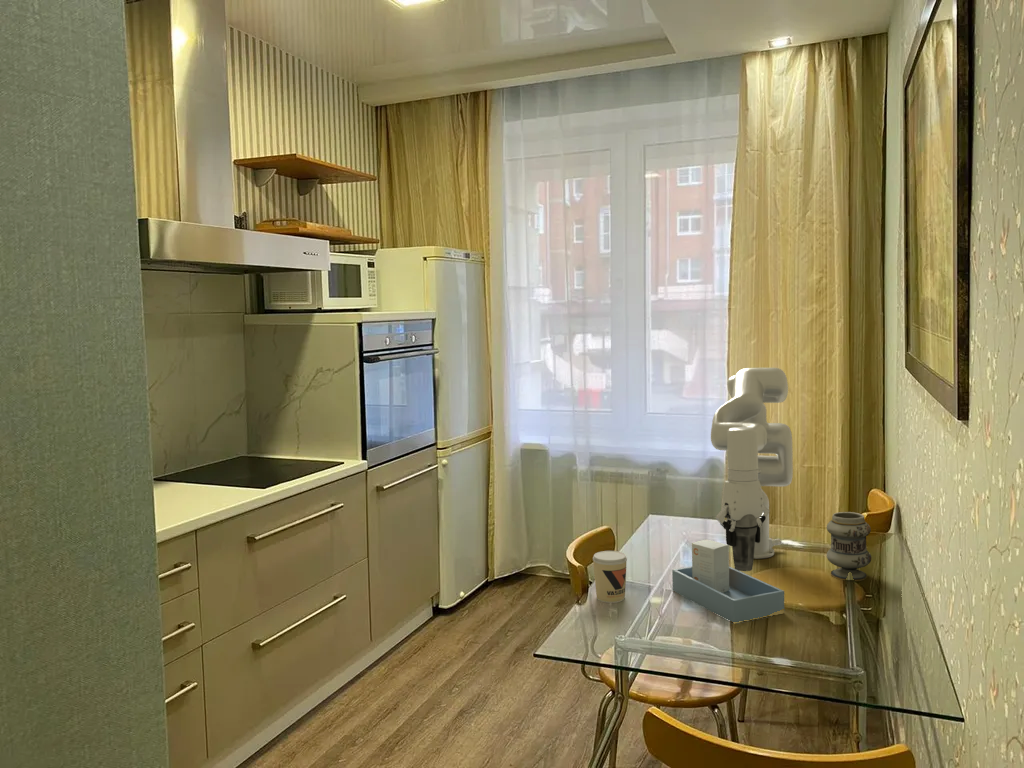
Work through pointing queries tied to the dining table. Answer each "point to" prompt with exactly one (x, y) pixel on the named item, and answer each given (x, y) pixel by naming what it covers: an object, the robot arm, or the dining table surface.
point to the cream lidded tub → (610, 576)
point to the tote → (731, 595)
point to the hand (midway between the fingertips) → (743, 542)
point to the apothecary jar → (848, 545)
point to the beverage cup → (745, 543)
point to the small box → (711, 564)
